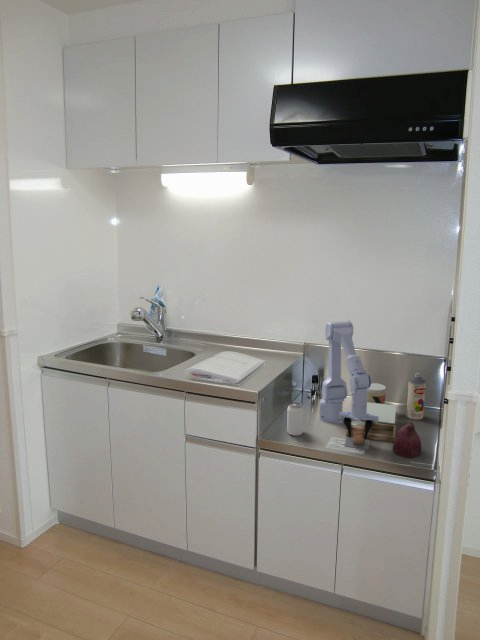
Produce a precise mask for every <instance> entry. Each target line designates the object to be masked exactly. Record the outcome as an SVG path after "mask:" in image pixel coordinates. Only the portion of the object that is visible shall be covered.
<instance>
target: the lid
mask: <svg viewBox="0 0 480 640" xmlns="http://www.w3.org/2000/svg"><path fill="white" fill-rule="evenodd" d="M396 411H397V405H394V404H388V403H387V404H386V403H384V404H378V403H369V402H367V414H370V415H374V416H379V419H378V423H381V424H389V425H395V424H396Z"/></svg>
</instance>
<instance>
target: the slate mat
mask: <svg viewBox="0 0 480 640" xmlns="http://www.w3.org/2000/svg"><path fill="white" fill-rule="evenodd" d="M370 443H371V439H365V443H364V444H361V445H357V444H354V443H353V437H349V436H346V439H345V442H344V447H345V448H353V449H360V450H367V451H368V450H370Z"/></svg>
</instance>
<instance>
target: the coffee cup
mask: <svg viewBox="0 0 480 640" xmlns="http://www.w3.org/2000/svg"><path fill="white" fill-rule="evenodd" d="M367 389H368V394H367V402H369V403H378V404H386V403H385V401H386V393H387V388H386V385H384V384H382V383H378V382H371V386H370V388H367Z"/></svg>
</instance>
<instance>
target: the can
mask: <svg viewBox="0 0 480 640" xmlns="http://www.w3.org/2000/svg"><path fill="white" fill-rule="evenodd" d="M286 412H287V413H286V414H287V416H286V417H287V418H286V419H287V420H286V422H287V424H286V425H287V426H286V431H287V434H289V435H290V436H293V437H298V436H302V435H303V433H304V415H305V414H304V412H305V411H304V407H303V404H302V403H300V402H295V401H294V402H290V403H289V404H288V406H287V410H286Z"/></svg>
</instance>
